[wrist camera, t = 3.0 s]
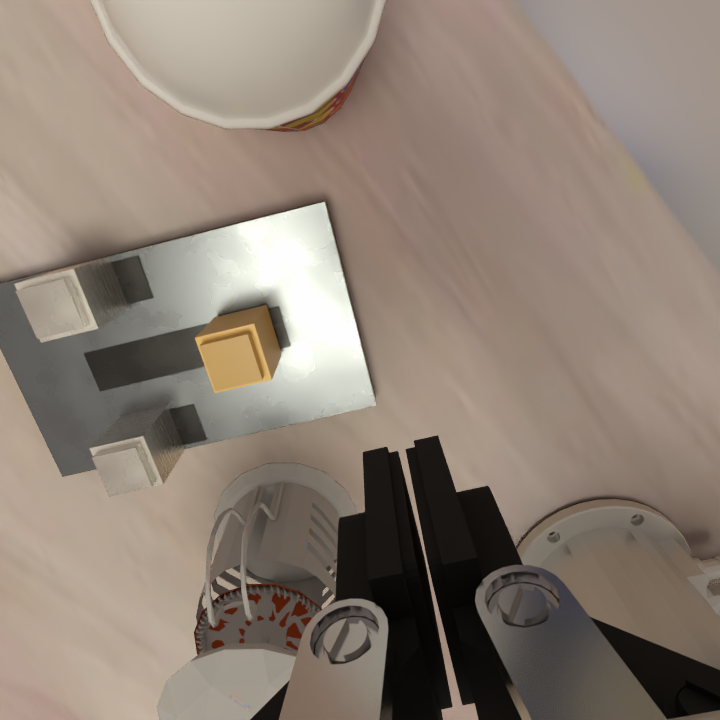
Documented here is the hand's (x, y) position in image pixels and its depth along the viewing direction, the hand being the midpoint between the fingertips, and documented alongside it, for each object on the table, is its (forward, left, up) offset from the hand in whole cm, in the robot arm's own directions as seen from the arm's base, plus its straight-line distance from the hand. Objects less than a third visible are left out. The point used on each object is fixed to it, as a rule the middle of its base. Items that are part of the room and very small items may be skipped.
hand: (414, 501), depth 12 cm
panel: (+11, 0, -21) cm, 24 cm away
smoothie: (+1, -13, -21) cm, 25 cm away
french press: (+9, +13, -21) cm, 27 cm away
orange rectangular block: (+7, 0, -19) cm, 20 cm away
